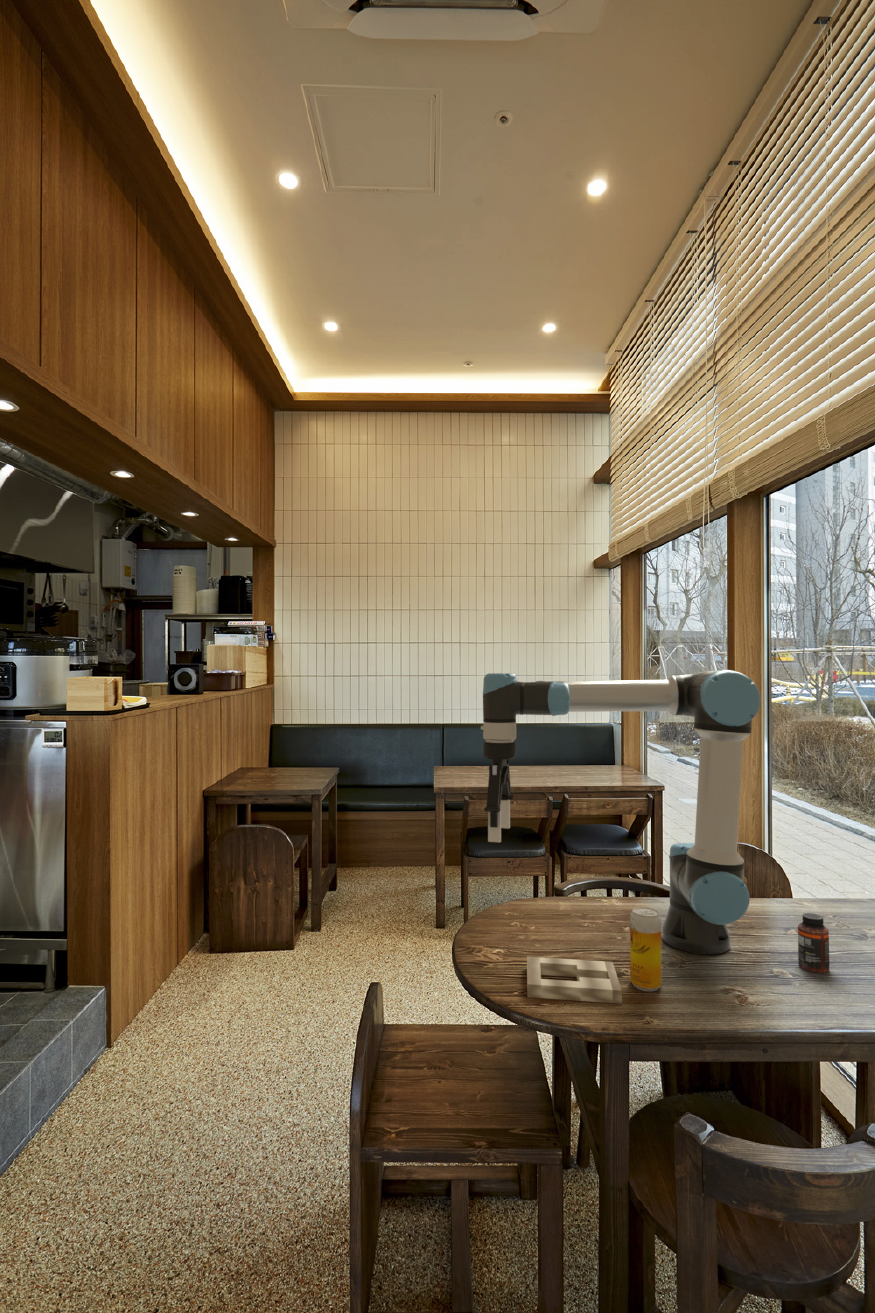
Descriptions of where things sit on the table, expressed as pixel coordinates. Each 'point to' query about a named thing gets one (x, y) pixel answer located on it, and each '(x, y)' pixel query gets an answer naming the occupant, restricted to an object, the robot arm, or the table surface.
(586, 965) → the keyhole plate
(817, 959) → the supplement bottle
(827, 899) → the table surface
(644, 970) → the beer can
